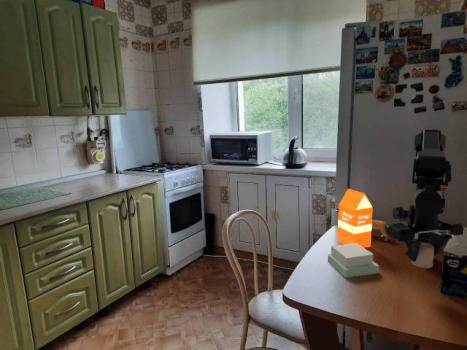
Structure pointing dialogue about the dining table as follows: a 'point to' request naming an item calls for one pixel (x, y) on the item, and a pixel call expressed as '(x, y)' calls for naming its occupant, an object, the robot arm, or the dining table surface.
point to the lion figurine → (381, 228)
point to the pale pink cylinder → (424, 256)
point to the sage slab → (353, 268)
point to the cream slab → (352, 255)
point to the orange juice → (355, 219)
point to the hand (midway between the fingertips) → (422, 259)
